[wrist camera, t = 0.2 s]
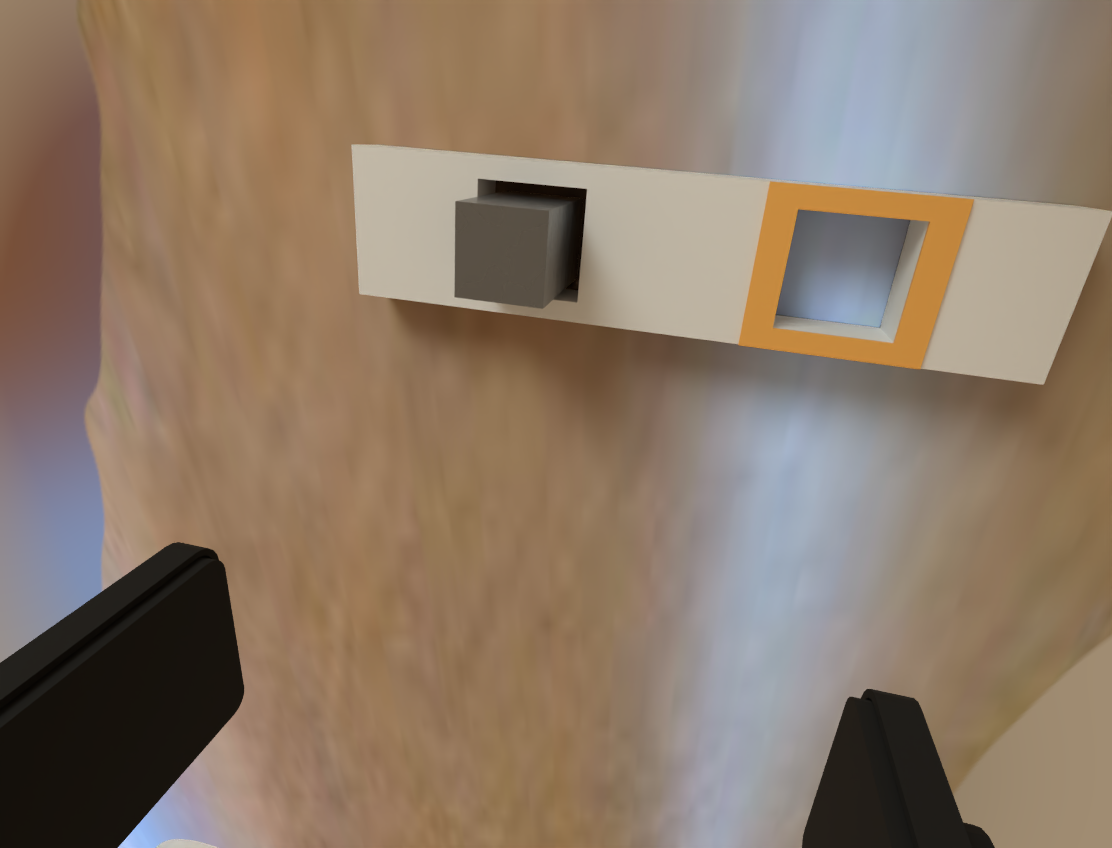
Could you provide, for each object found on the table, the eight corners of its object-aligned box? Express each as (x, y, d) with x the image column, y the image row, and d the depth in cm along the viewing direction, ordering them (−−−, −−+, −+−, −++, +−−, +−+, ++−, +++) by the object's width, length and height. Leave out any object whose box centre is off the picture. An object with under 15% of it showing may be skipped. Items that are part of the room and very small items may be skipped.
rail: (378, 144, 37) (349, 144, 34) (1079, 205, 31) (1116, 211, 28) (383, 284, 40) (357, 294, 38) (1018, 366, 34) (1045, 386, 31)
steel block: (507, 190, 37) (455, 201, 29) (583, 198, 36) (549, 210, 29) (504, 269, 38) (454, 297, 31) (577, 277, 38) (542, 308, 30)
